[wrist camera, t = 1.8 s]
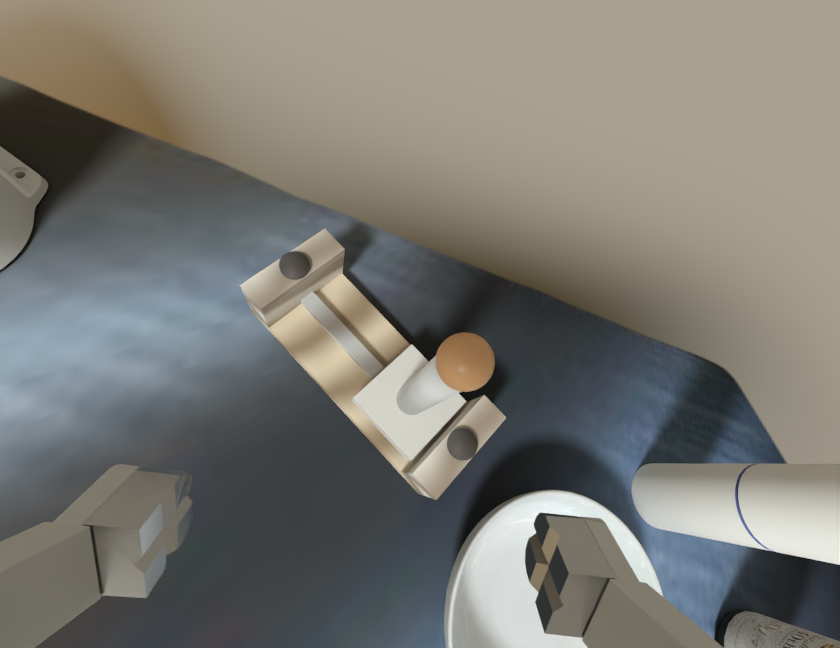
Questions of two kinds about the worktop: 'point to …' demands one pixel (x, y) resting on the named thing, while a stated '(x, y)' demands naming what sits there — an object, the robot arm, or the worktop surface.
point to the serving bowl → (518, 574)
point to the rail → (356, 354)
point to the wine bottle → (766, 633)
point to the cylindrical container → (746, 504)
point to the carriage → (425, 390)
